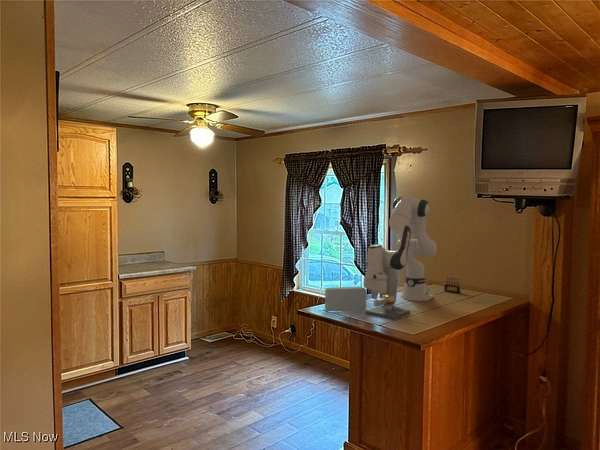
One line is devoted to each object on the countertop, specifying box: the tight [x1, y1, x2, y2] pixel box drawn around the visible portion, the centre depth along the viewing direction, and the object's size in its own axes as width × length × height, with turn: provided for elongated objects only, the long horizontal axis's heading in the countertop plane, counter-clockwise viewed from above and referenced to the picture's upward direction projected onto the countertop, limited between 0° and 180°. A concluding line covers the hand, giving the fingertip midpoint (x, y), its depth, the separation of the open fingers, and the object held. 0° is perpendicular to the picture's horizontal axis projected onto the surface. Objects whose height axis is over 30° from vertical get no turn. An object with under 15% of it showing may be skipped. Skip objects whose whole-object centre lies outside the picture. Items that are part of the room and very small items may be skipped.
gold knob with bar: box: [373, 295, 397, 308], centre depth 247 cm, size 18×9×4 cm, turn 139°
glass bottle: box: [379, 267, 398, 306], centre depth 270 cm, size 10×10×28 cm
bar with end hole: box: [324, 285, 367, 313], centre depth 258 cm, size 23×6×13 cm, turn 103°
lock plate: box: [365, 304, 411, 321], centre depth 251 cm, size 18×18×6 cm
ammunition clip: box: [443, 274, 461, 294], centre depth 312 cm, size 11×2×12 cm, turn 52°
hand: (374, 298), depth 248 cm, fingers closed
